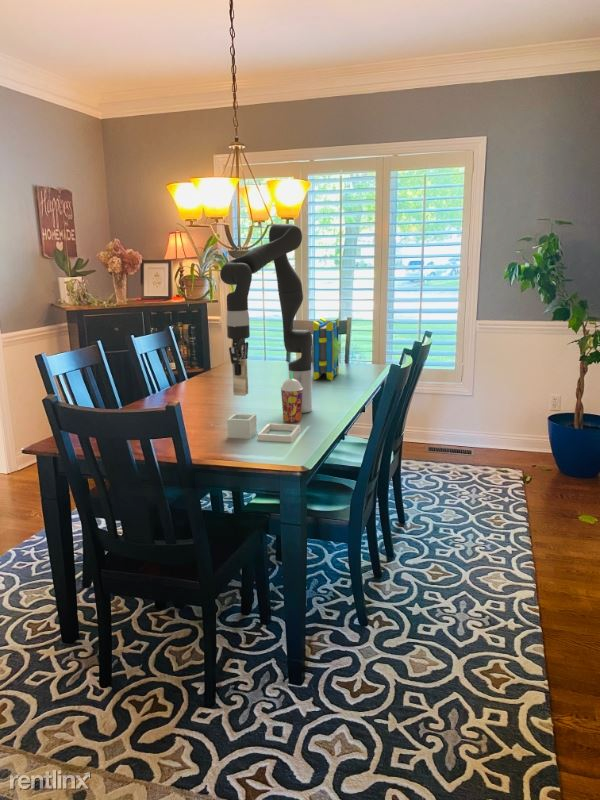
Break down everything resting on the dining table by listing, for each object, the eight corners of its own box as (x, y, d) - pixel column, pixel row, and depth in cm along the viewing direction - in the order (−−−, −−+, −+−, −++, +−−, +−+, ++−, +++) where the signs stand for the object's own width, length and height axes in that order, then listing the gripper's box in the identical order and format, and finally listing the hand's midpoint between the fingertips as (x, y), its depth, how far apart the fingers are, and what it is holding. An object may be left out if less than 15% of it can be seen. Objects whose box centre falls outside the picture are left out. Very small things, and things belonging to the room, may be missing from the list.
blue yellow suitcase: (343, 373, 319) (343, 317, 312) (335, 381, 297) (335, 322, 290) (317, 372, 323) (317, 317, 316) (307, 380, 301) (307, 322, 294)
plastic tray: (268, 431, 214) (268, 423, 213) (300, 432, 211) (300, 424, 211) (257, 442, 201) (257, 434, 200) (291, 444, 198) (291, 436, 197)
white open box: (235, 433, 212) (234, 413, 210) (256, 434, 210) (256, 414, 208) (228, 440, 204) (227, 419, 202) (250, 441, 202) (249, 420, 201)
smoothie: (280, 420, 228) (280, 369, 223) (302, 419, 228) (301, 369, 224) (281, 426, 220) (281, 373, 215) (304, 425, 220) (303, 373, 216)
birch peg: (237, 392, 206) (235, 358, 203) (248, 393, 205) (246, 359, 202) (233, 395, 202) (232, 360, 199) (244, 395, 201) (243, 361, 198)
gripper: (234, 321, 205) (236, 369, 209) (220, 326, 192) (222, 377, 196) (254, 321, 203) (256, 370, 208) (242, 326, 190) (244, 378, 194)
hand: (240, 373), depth 202 cm, fingers closed on birch peg, 4 cm apart
